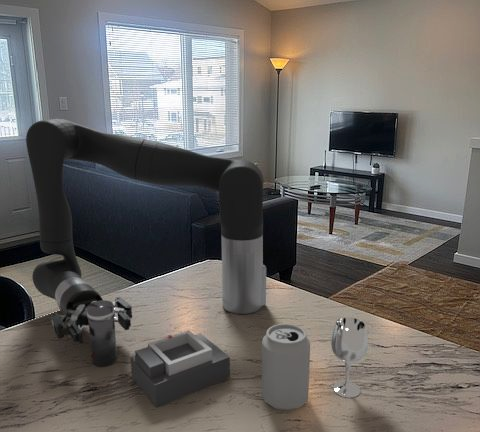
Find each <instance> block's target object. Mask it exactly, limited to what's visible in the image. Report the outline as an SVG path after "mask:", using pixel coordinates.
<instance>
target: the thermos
mask: <svg viewBox="0 0 480 432" xmlns="http://www.w3.org/2000/svg"><path fill="white" fill-rule="evenodd" d="M112 302H113V301H110V300H104V299H103V300H101V301H96V302H93V303H90V304H89V305H88V306H87V318H88V323H89V325H88V331H89V344H90V351H91V352H90V353H91V354H90V356H89V357H90V358H91V363H92V365H93V366H95V367H96V368H97V367H99V368H104V367H109V366H112V365H113V364H115V363H116V362H117V361H118V351H117V338H116V322H114V308H113V303H112Z"/></svg>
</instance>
